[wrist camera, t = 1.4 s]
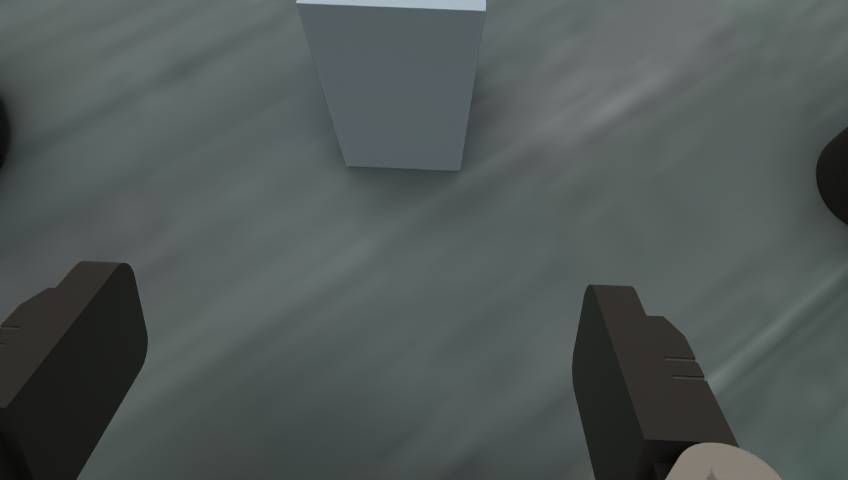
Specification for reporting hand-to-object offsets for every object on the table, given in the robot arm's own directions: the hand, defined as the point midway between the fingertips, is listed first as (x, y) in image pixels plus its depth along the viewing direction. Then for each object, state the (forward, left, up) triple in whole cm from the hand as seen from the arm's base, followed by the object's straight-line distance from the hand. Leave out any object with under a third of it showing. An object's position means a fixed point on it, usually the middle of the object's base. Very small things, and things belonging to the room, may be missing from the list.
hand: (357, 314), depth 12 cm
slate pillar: (-6, +9, -16) cm, 19 cm away
